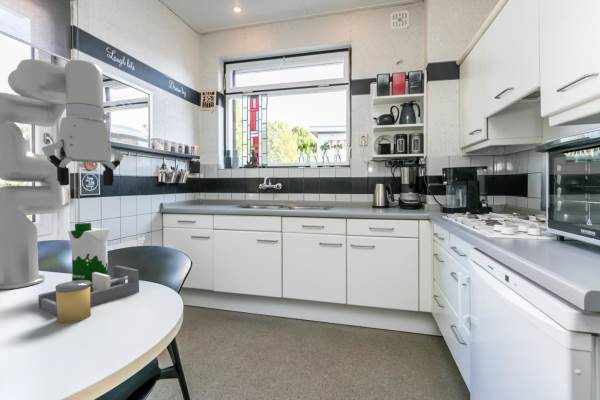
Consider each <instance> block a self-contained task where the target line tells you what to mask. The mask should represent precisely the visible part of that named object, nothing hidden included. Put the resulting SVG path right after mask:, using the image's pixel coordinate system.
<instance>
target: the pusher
mask: <svg viewBox="0 0 600 400" xmlns="http://www.w3.org/2000/svg"><path fill="white" fill-rule="evenodd" d="M110 278H111V275H110V274H109V275H106V274H102V273H98V272H94V273H92V283H93V292H94V291H98V290H102V289H105V288H109V287H111V286H110V284H111V283H115V282H119V281H123V280H125V281H126V280H128V275H125V277H121V278H117V279H112V280H110Z"/></svg>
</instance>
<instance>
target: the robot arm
mask: <svg viewBox="0 0 600 400" xmlns="http://www.w3.org/2000/svg"><path fill="white" fill-rule="evenodd" d="M103 75H104V74H103V71H102V69H101V68H100V66H98V64H96V63H93V62H90V61H86V60H84V59H83V60H81V59H72V60H69V61H67V62H66V63H65V65H64V66H61V65H59V64H56V63H51V62H48V61H44V60H39V59H34V58H32V59H31V58H30V59H22V60H20V62H19V63H18V65H17V67H16V69H14V70H12V71H11V72H10V73H9V74H8V77H7V83H8V86H9V87H10V88H11V90H12V91H13V92H14V93H15V94H14V93H8V92H0V180H2V181H4V182H5V181H6V182H16V183H17V182H19V183H21V182H22V183H40V185H6V186H1V187H0V290H13V289H17V288H18V289H19V288H24V287H30V286H33V285H37V284H39V283H42V282H44V281H45V279H46V278H45V277H46V276H45V275H41V274H39V247H38V244H39V243H38V229H37V225H35V223H34V222H33V221H32V220H31V219H30V218H28V216H32V215H49V214H56V213H58V212H60V210H61V209H62V207H63V188H62V186H69V185H70V170H69V169H70V168H69V167H67V165H69V164H70V162H77V163H79V162H80V163H91V164H92V163H93V164H98V163H99V164H101V166H102V167H103V168H104V170H103V171H102V181H103V183H102V185H103V186H105V187H106V186H107V187H111V186H113V185H114V184H113V183H114V182H115V180H114V179H115V178H114V171H115V170H116V168H117V167H118V166H120V164H121V162H122V160H123V158H124V154H123V153H121V152H119V151H118V150H116V149H115V148H113V147H112V145H111V137H110V131H109V128H108V125H107V122H105V121H109V118H110V115H109V114H106V113H105V110H104V76H103ZM64 112H65V115H66V116H65V117H62V115H63V113H64ZM60 119H61V120H60ZM59 120H60V125H59V131H58V141H57V142H54V143H51V144H47V145H46V146H43V147H41V150H42V152H43V154H42V153H33V152H32V151H31V143H30V142H31V141H30V138H29V137H28V135H27V133H25V131H24V130H23V129H22V128H20V126H19V125H17V124H16V123H18V124H19V123H20V124H23V125H30V126H37V127H43V128H49V127H50V128H51V127H54V126H55V125H57V123H58V122H59ZM55 150H57V154H58V155H57V156H56V155H55V153H54V151H55ZM112 156H113V157H114V159H113V160H112ZM111 160H112V161H111Z"/></svg>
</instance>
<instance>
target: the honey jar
mask: <svg viewBox="0 0 600 400" xmlns="http://www.w3.org/2000/svg"><path fill="white" fill-rule="evenodd" d="M90 285H91V283H90V281H89V280H76V281H72V280H71V281H64V282H62V283H59V284H57V285H55V291H56V301H57V315H56V322H57V323H58V324H61V325H64V324H66V325H67V324H74V323H77V322H81V321H84V320H86V319H88V318H90V317H91V316H92V314H91V313H92V312H91V310H92V309H91V308H92V306H91V302H90Z"/></svg>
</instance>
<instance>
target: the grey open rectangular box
mask: <svg viewBox="0 0 600 400" xmlns="http://www.w3.org/2000/svg"><path fill="white" fill-rule="evenodd" d="M113 268H114V269H113V271H114V276H112V277H111V276H110V280H112V279H117V278H121V277H125V276H126V275H127V276H128V279H127V282H126V280H123V281H119V282H115V283H111V284H110V286H111V287H109V288H105V289H102V290H98V291H94V292H93V283H92V282H90V283H91V285H90V302H91V307H93V306H97V305H101V304H104V303H107V302H109V301H112V300H116V299H119V298H123V297H127V296H130V295H132V294H133V293H134V294H136V292H137V293H140V271H139V269H136V268H132V267H127V266H122V265H114V267H113ZM38 308H40V309H42V310H44V311H47V312H50V313H51V314H53V315H56V316H57V301H56V290H53V291H49V292H48V291H47V292H44V293H40V294H38Z"/></svg>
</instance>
